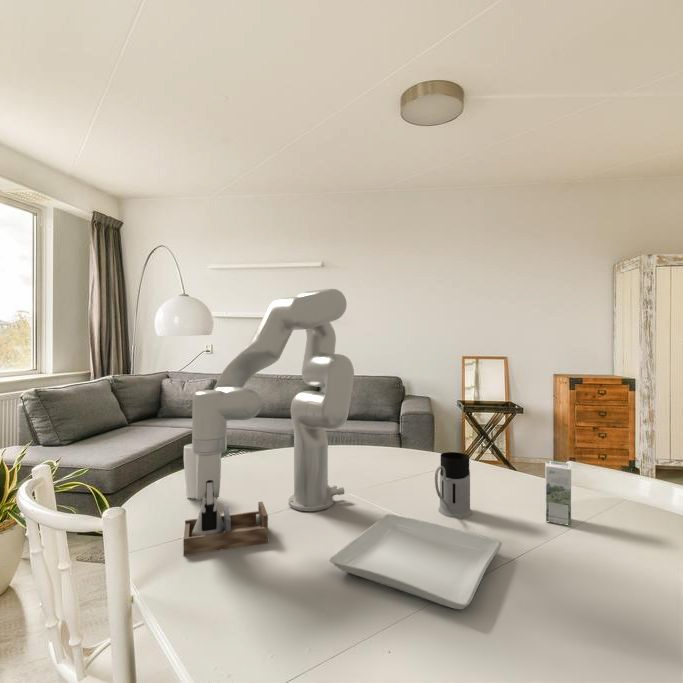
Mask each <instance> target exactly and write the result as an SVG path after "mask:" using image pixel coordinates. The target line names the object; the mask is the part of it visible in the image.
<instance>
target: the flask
mask: <svg viewBox="0 0 683 683" xmlns="http://www.w3.org/2000/svg"><path fill="white" fill-rule="evenodd" d="M206 488H207V487H206ZM213 497H214V495H213ZM205 498H207V495H205ZM206 503H207V501H205V504H206ZM217 504H218V503H217V502H216V511H217V529H215V530H208V531H202V512H203V501H202V502H201V508H200V511H199V513H198V516H197V518H196V519H197V521H196V524H195V526H194V529H193V531H192V534H191V535H192V536H201V535H209V534H216V533H223V532H224V529H225V527H224V524H223V521H222V518H221V516H222V515H221V513H220V510H219V507H218V505H217ZM205 510H206V509H205ZM205 512H206V511H205Z"/></svg>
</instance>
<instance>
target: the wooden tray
mask: <svg viewBox="0 0 683 683" xmlns="http://www.w3.org/2000/svg"><path fill="white" fill-rule="evenodd" d="M257 507H258V510H256V511H250V512H249V511H248V512H240V513H232V514H231V513H230V519H231V532H225V529H224V532H223V533H216V534H209V535H201V536H192V535H191V534H192V531H193V529H194V526H195V524H196V521H197V518H191V519H186V520H184V523H185V524H184V532H183V546H182V547H183V551H182V552H183V556H191V555H196V554H203V553H210V552H216V551H222V550H223V551H225V550H230V549H231V550H232V549H237V548H245V547H250V546H252V547H253V546H259V545H263V544H269V515H268V512H267V509H266V507H265V505H264V502H263V501H259V502H258V506H257ZM220 516H221V518H222V521H223V524H224V514H223V515H220Z"/></svg>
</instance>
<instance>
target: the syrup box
mask: <svg viewBox="0 0 683 683" xmlns="http://www.w3.org/2000/svg"><path fill="white" fill-rule="evenodd" d="M544 469H545V470H544V471H545V472H544V474H545V476H544V477H545V482H544V483H545V488H544V490H545V491H544V495H545V496H544V497H545V498H544V499H545V501H544V502H545V506H544V507H545V508H544V509H545V510H544V513H545V514H544V516H545V522H546V521H549V522H556V523H562V524H568V525H572V469H571V466H570V462H562V461H553V460H552V461H551V460H545V468H544ZM549 522H548V523H549Z"/></svg>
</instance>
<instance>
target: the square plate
mask: <svg viewBox="0 0 683 683" xmlns="http://www.w3.org/2000/svg"><path fill="white" fill-rule="evenodd" d="M502 546H503V544H502V541H500V540H498V539H494V538H489V537H486V536H482V535H478V534H476V533H475V534H474V533H472V532H468V531H463V530H460V529H456V528H453V527H449V526H445V525H440V524H438V523H433V522H429V521H424V520H419V519H415V518H410V517H405V516H402V515H401V516H400V515H395V514H391V513H389V514H386V515H384V516H383V517H382V518H380V519H379V520H377V521H376V522H375V523H374V524H372V525H371V526H369V527H368V528H367V529H365V531H363V532H362V533H360V534H359V535H358V536H356V537H355V538H354V539H352V540H351V541H350V542H349V543H348V544H347V545H345V546H344V547H343V548H341V549H340V550H338V551H337V552H336V553H335V554H334V555H333V556H331V558H329V562H330V563H332V564H333V565H334V566H336V567H337V568H338V569H339V570H341V571H343V572H346V573H348V574H351V575H354V576H358V577H360V578H363V579H366V580H369V581H371V580H372V581H371V582H374V581H375V582H374V583H377V582H378V584H380V583H381V585H383V584H384V586H386V585H387V587H389V586H390V588H392V587H393V589H395V588H396V589H395V590H398V589H399V591H402V592H405V593H407V594H411V595H413V596H416V597H420V598H422V599H424V600H429V601H431V602H433V603H437V604H439V605H441V606H445V607H448V608H451V609H455V610H463V609H465V608H466V607H468V606H469V605H470V603H471V602H472V600H473V598H474V596H475V594H476V592H477V590H478V587H479V585H480V583H481V581H482V579H483V577H484V574H485V572H486V571H487V570H488V567H489V566H490V564H491V562H492V561H493V559H494V558H495V557H496V555H497V553H498V552H499V551H500V549H501V547H502Z"/></svg>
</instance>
